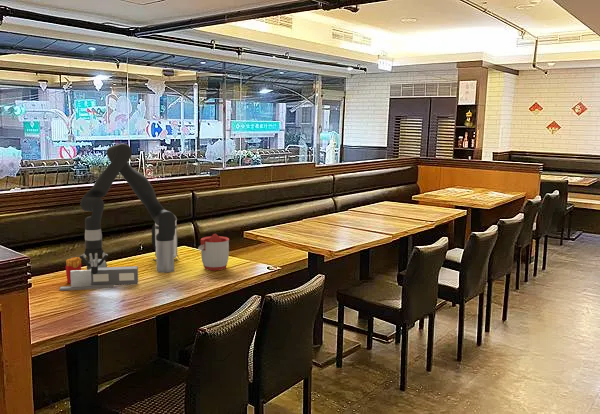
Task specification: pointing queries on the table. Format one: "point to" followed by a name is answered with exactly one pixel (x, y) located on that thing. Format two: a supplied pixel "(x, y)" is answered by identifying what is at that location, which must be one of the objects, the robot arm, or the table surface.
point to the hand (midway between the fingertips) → (94, 273)
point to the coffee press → (155, 230)
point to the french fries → (72, 266)
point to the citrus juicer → (214, 252)
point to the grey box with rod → (110, 278)
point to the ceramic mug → (99, 265)
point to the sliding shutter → (80, 278)
